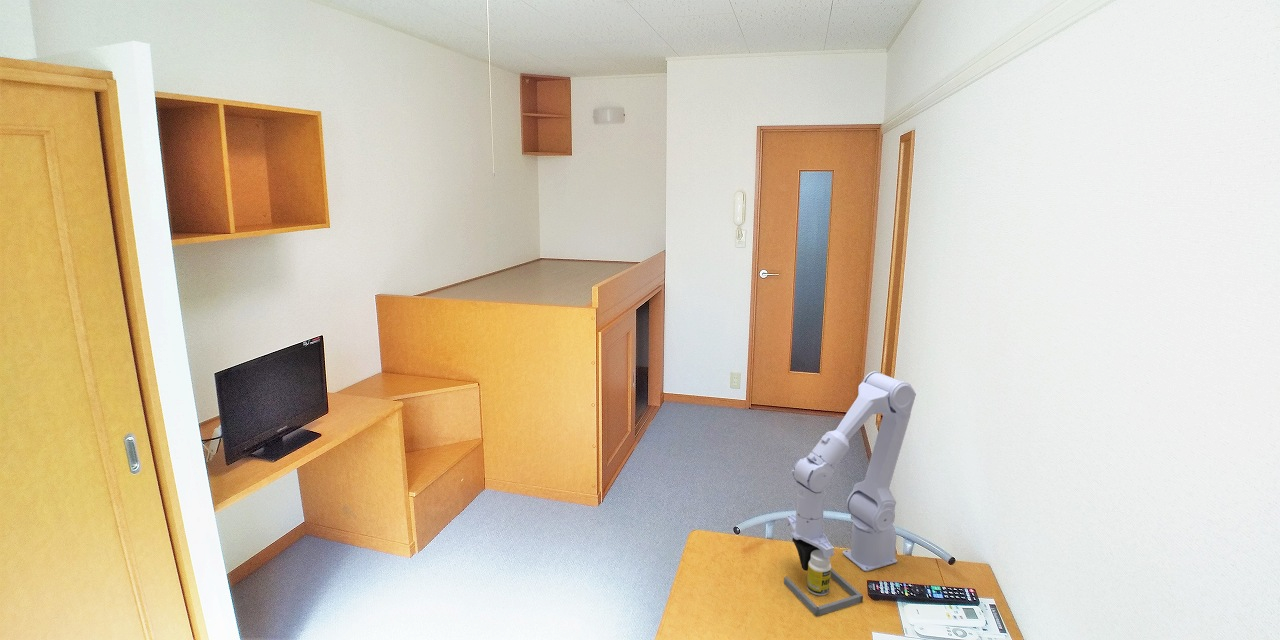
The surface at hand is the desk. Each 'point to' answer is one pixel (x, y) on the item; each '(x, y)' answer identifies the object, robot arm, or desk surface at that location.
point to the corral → (832, 606)
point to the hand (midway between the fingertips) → (807, 568)
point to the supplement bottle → (818, 573)
